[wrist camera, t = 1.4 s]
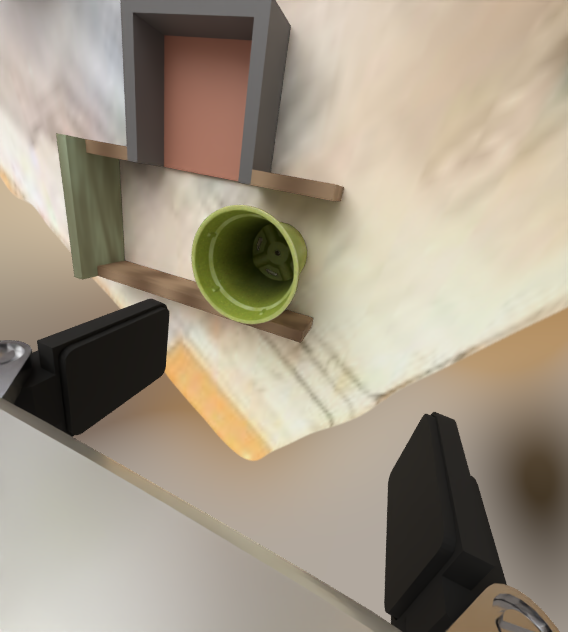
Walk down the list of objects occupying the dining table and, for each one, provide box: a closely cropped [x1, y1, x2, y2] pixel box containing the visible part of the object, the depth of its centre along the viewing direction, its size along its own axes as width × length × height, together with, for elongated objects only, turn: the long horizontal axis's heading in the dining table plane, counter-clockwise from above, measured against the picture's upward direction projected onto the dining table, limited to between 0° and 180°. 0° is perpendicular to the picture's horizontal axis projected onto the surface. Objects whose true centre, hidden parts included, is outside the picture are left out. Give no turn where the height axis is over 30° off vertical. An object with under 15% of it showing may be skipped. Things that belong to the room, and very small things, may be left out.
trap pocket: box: [120, 0, 291, 185], centre depth 26 cm, size 13×12×4 cm
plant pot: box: [191, 205, 307, 324], centre depth 27 cm, size 9×9×9 cm
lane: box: [56, 133, 344, 343], centre depth 30 cm, size 27×14×6 cm, turn 79°
